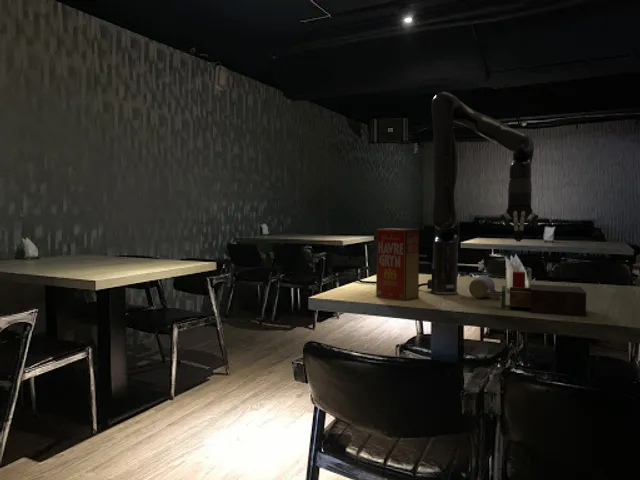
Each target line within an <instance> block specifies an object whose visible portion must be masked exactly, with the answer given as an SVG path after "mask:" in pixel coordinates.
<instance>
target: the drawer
mask: <svg viewBox="0 0 640 480" xmlns="http://www.w3.org/2000/svg"><path fill="white" fill-rule="evenodd" d="M493 293H500V294H493ZM506 294H507V286H506V285H501V291H498V290H496V291H490V290H487V291H486V296H487V297H488V298H490V297H489V296H490V295H491V296H501V297H500V299H501V301H500V303H501V304H500V307H501V308H506V297H507V296H506ZM509 307H513V308H514V307H515V308H529V309H530V308H531V289H530V287H525V288H520V287H512V286H509Z"/></svg>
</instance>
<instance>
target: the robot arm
mask: <svg viewBox="0 0 640 480" xmlns="http://www.w3.org/2000/svg"><path fill="white" fill-rule="evenodd" d="M431 101H432V102H431V109H430V110H431V117H432V129H433V138H432V139H433V141H432V143H433V144H432V146H433V147H432V174H433V175H432V177H433V178H432V179H433V192H434V194H433V205H432V215H431V221H432V224H433V226H434V237H433V242H432V267H431V278H429V279H427V281H426V282H424V283H419V288H420V287H424V286H427V288H426V289H427V290H431V291H430V293H431V294H436V295H446V296H448V295H451V296H452V295H457V294H458V261H459V259H458V258H459V241H460V228H461V227H460V226H461V225H460V224H461V222H460V220H461V219H460V213H459V212H458V210H457V209H456V205H455V190H456V184H457V181H458V180H457V179H458V175H459V173H458V172H459V151H458V146H457V145H458V144H457V141H456V138H455V133H454V125H453V124H454V123H456V124H459V125H463V126H465V127H467V128H468V129H470V130H472V131H473V132H475V134H477V135H480V136H481V137H483V138H485V139H487V140H489V141H490V142H492V143H494V144H499V145H500V146H501V147H503V148H505V149H506V150H507V151H509V152H512V161H511V164H510V166H509V180H508V187H507V188H508V189H507V191H508V192H507V196H508V197H507V207H506V210H505V212H504V213H502V214H500V216H499V217H500V219H501V220H502V221H503V222H504V223H505V225H506V226H507V227H508V229H510V230H513V231H514V232H513V239H514V241H515V242H516V243H517V242H518V243H519V242H522V241H523V240H524V231H526V230H529V228H530V227H532V225H533V224H534V223H535V222H536V221H537V220H538V219H539V215H538V214H536V213H535V212H533V208H532V191H533V189H532V188H533V185H532V163H533V157H534V152H535V150H534V149H535V144H534V140H533V139H532V137H531V136H529V135H527V134H526V133H524V132H521V131H519V130H516V129H514V128H512V127H510V126H509V125H506V123H503V122H501V121H499V120H497V119H495V118H493V117H491V116H488V115H485V114H483V113H481V112H478V111H476V110H475V109H472V108H470V107H469V106H468V105H467V104H465V103H464V102H462V101H461V100H460V99H459V98H458V97H457V96H456V95H454V94H452V93H450V92H448V91H441V92H438V93H437V94H435V96H434V97H433V99H432V100H431ZM508 218H510V219H511V221H513V225H512V224H511V222H510V221H509V220H508ZM528 218H530V220H529V221H528V223H527V224H526V225H525V221H527V219H528ZM356 281H357V282H358V283H361V284H370V285H371V284H372V285H375V284H376V280H375V281H372V280H371V281H370V280H361V279H360V278H359V277H354V278H353V279H352V281H351V282H356Z"/></svg>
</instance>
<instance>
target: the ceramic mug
mask: <svg viewBox="0 0 640 480" xmlns="http://www.w3.org/2000/svg"><path fill="white" fill-rule="evenodd" d="M468 285H469V286H468V290H469V293H470V295H471V296H472V297H474V298H475V299H485V298H486V297H487V296H486V291H487V290H490V291H497V290H496V289H495V288H496V285H495V282H494V280H493V279H492V278H491V277H490V276H488V275H483V274H482V275H479V276H477V277H476V278H474V279H473V280H472V281H471V282H470V283H469V284H468ZM492 294H500V293H492ZM488 298H491V299H493V300H500V299H501V296H491V295H490V296H489V297H488Z"/></svg>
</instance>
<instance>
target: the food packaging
mask: <svg viewBox="0 0 640 480" xmlns="http://www.w3.org/2000/svg"><path fill="white" fill-rule="evenodd" d="M375 231H376V237H375V239H376V240H375V241H376V243H375V245H376V246H375V247H376V250H375V251H376V267H375V268H376V270H375V271H376V274H375V275H376V276H375V277H376V278H375V279H376V280H375V281H376V285H375V297H377V298H384V299H391V300H397V301H398V300H399V301H403V302H407V301H412V300H416V299H418V298H420V297H419V294H420V293H419V291H420V287H419V284H420V283H419V281H420V280H419V279H420V228H398V227H397V228H395V227H386V228H385V227H383V228H376V230H375Z"/></svg>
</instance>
